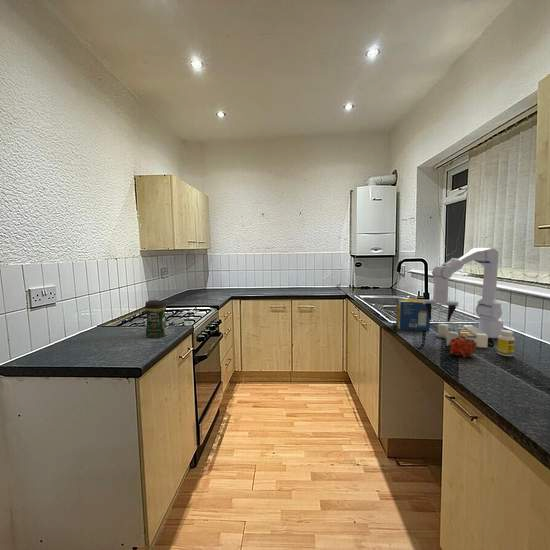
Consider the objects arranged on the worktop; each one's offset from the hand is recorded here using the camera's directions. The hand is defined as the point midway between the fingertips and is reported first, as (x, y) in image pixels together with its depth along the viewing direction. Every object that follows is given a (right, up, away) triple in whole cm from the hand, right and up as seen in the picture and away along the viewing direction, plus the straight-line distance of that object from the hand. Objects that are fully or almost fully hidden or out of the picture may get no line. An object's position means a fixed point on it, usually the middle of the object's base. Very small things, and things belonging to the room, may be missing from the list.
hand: (439, 320), depth 144 cm
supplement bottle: (+18, -12, -18) cm, 28 cm away
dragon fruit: (-1, -12, -19) cm, 23 cm away
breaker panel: (+15, -10, 0) cm, 18 cm away
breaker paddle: (+12, -6, -1) cm, 13 cm away
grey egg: (+3, -11, -6) cm, 12 cm away
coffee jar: (-137, -10, +13) cm, 138 cm away
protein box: (-1, -8, +25) cm, 26 cm away
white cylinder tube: (+6, -9, +8) cm, 14 cm away
